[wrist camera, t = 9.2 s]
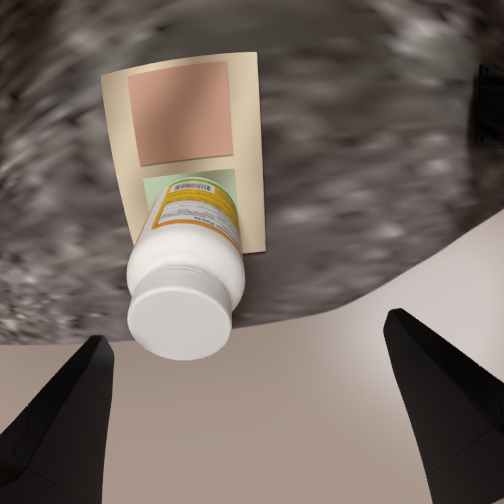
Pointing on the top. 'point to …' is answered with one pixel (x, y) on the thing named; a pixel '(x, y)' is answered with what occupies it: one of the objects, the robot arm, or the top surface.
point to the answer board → (188, 134)
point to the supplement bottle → (186, 271)
